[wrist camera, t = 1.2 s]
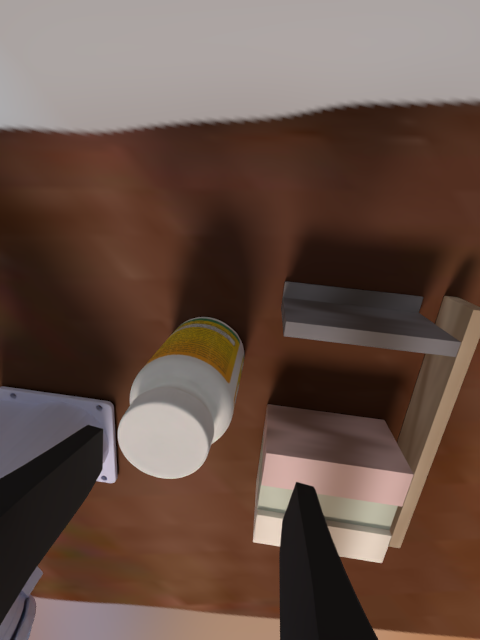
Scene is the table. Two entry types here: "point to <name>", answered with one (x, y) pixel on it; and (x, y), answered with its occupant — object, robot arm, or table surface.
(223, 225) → the table surface
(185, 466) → the supplement bottle
